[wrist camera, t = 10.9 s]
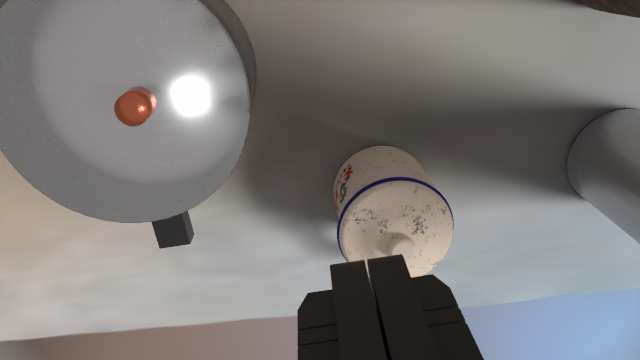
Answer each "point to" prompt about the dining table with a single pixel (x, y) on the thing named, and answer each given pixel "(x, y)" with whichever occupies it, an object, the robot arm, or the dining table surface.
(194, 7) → the lid
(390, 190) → the teacup with lid
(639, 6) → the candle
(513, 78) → the dining table surface
